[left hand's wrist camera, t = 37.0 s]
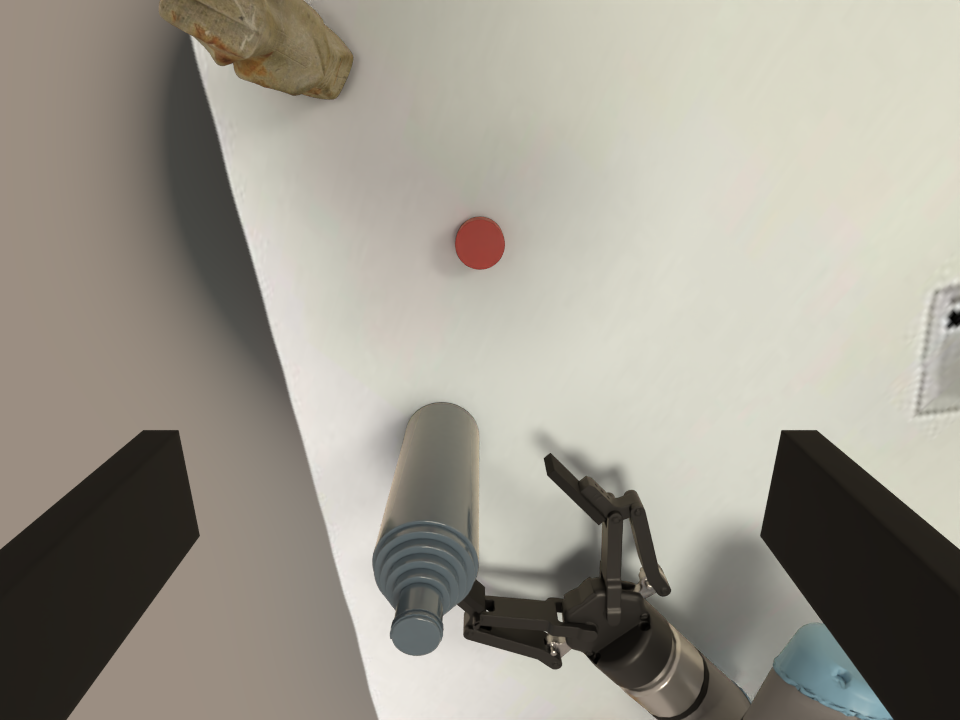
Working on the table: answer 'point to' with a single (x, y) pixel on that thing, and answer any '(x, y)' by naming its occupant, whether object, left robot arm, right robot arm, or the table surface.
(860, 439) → the table surface
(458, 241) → the cap
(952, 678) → the left robot arm
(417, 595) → the bottle
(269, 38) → the sculpture
